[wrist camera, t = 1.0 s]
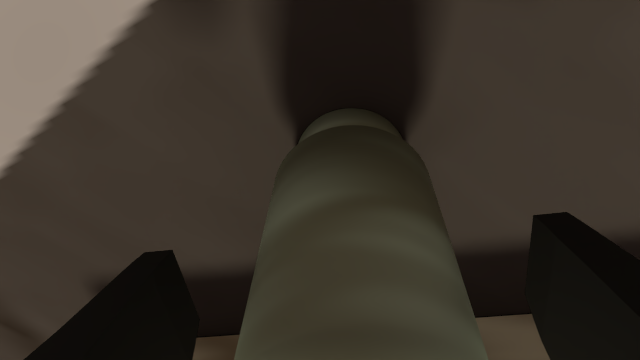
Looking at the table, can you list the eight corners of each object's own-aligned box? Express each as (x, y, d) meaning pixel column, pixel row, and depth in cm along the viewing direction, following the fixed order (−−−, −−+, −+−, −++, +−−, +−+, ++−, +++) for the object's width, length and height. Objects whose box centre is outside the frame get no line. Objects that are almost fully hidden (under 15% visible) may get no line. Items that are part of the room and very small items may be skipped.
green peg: (416, 85, 12) (511, 314, 6) (421, 208, 14) (495, 486, 8) (270, 103, 13) (191, 337, 6) (294, 220, 15) (256, 495, 8)
